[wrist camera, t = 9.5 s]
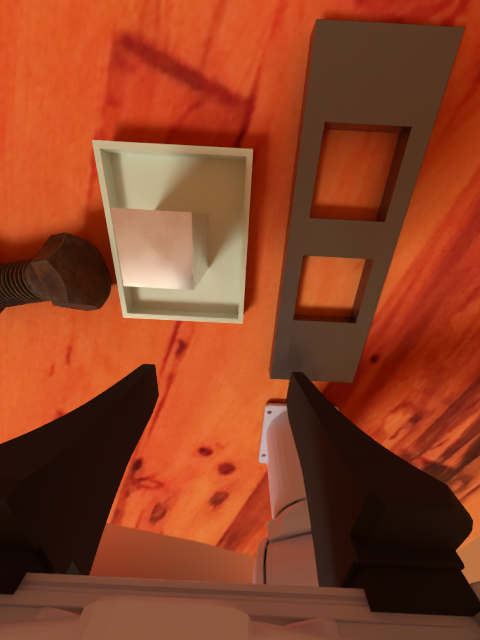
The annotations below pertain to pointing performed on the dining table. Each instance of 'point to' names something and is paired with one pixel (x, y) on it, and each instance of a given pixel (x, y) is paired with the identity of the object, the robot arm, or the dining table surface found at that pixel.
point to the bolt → (58, 276)
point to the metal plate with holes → (381, 236)
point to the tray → (183, 196)
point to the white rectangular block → (161, 247)
